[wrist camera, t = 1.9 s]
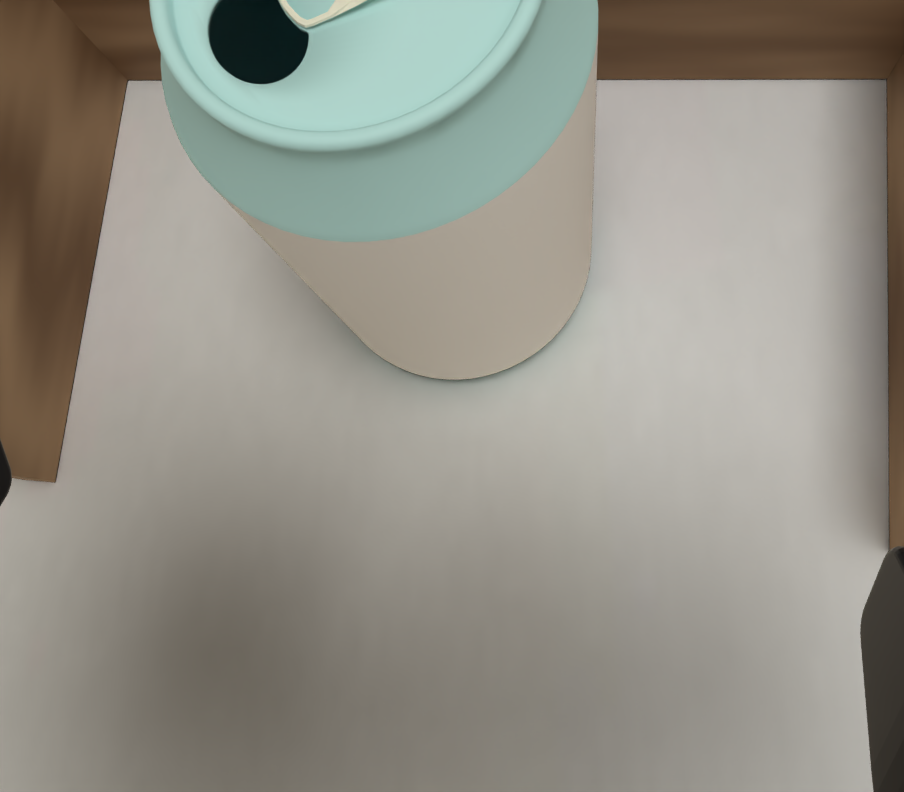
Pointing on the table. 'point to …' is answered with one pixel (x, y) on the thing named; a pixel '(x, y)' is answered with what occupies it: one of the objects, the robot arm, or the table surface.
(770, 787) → the table surface
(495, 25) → the can
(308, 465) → the table surface
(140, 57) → the three-sided wooden tray
